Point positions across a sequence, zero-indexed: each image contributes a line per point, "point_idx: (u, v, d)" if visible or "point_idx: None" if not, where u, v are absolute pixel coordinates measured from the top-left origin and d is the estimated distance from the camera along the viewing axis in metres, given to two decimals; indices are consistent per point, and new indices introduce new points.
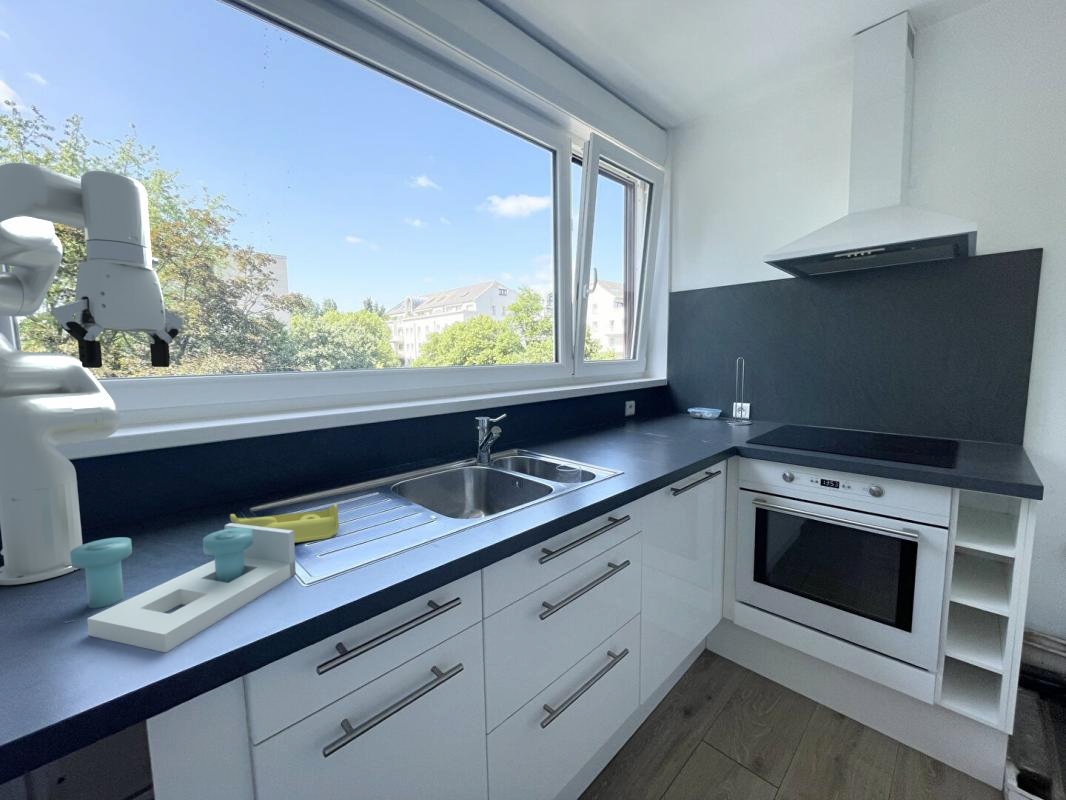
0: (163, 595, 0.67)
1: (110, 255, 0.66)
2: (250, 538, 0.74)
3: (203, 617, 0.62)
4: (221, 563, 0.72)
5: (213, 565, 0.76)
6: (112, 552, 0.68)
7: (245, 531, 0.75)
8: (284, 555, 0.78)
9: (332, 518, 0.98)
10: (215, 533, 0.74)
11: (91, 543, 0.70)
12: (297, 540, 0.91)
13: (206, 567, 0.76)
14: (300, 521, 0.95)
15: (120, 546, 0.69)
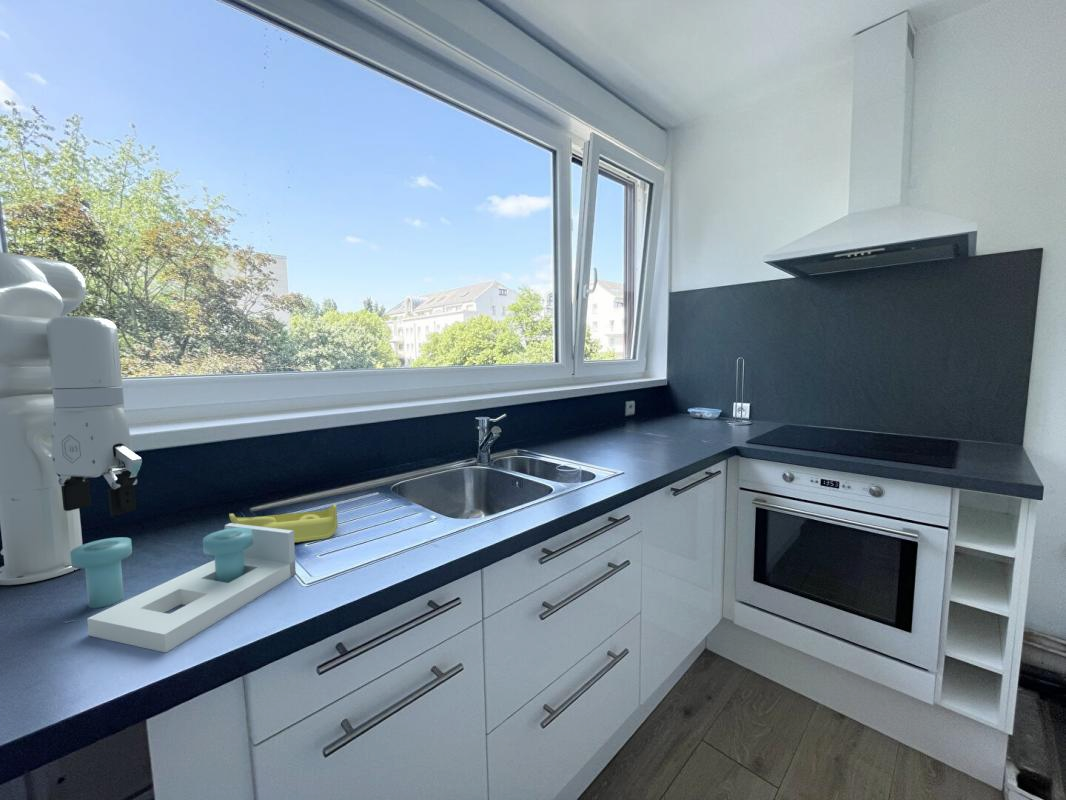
0: (163, 595, 0.67)
1: (122, 400, 0.68)
2: (250, 538, 0.74)
3: (203, 617, 0.62)
4: (221, 563, 0.72)
5: (213, 565, 0.76)
6: (112, 552, 0.68)
7: (245, 531, 0.75)
8: (284, 555, 0.78)
9: (331, 518, 0.98)
10: (215, 533, 0.74)
11: (91, 543, 0.70)
12: (295, 540, 0.91)
13: (206, 567, 0.76)
14: (298, 521, 0.95)
15: (120, 546, 0.69)
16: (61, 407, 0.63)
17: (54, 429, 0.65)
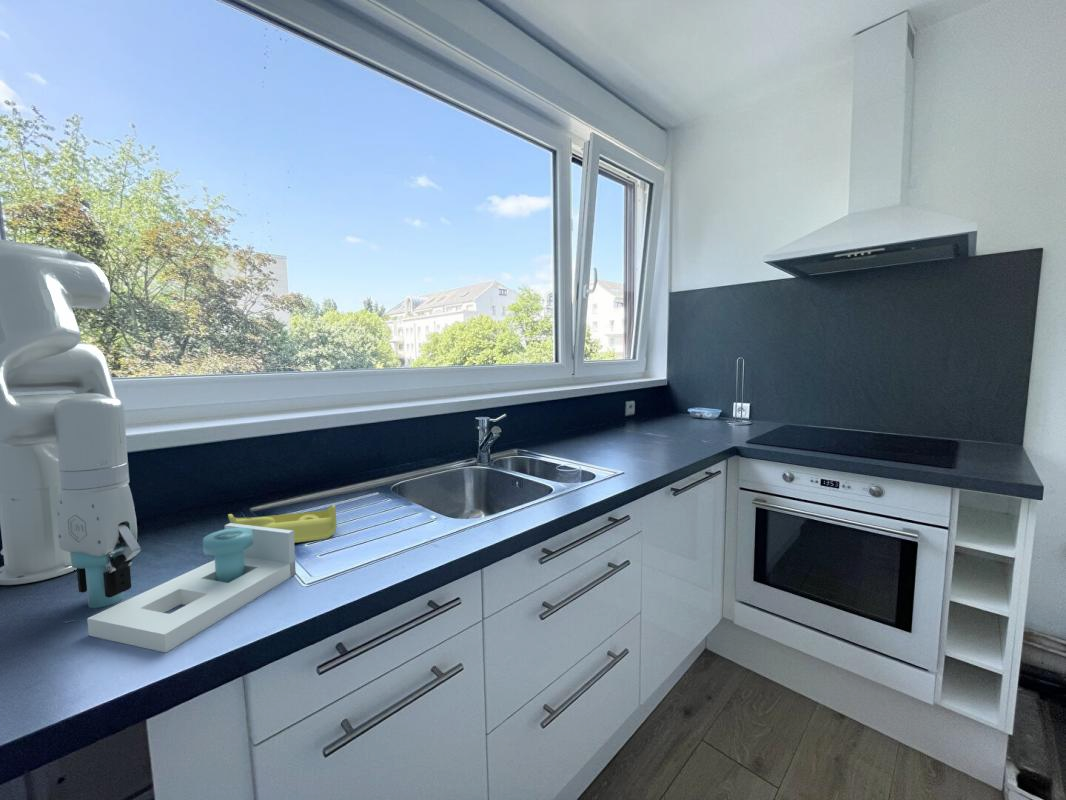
0: (163, 595, 0.67)
1: (127, 476, 0.70)
2: (250, 538, 0.74)
3: (203, 617, 0.62)
4: (221, 563, 0.72)
5: (213, 565, 0.76)
6: None
7: (245, 531, 0.75)
8: (284, 555, 0.78)
9: (330, 518, 0.98)
10: (215, 533, 0.74)
11: None
12: (294, 540, 0.91)
13: (206, 567, 0.76)
14: (297, 521, 0.94)
15: (120, 546, 0.69)
16: (68, 489, 0.64)
17: (61, 507, 0.67)
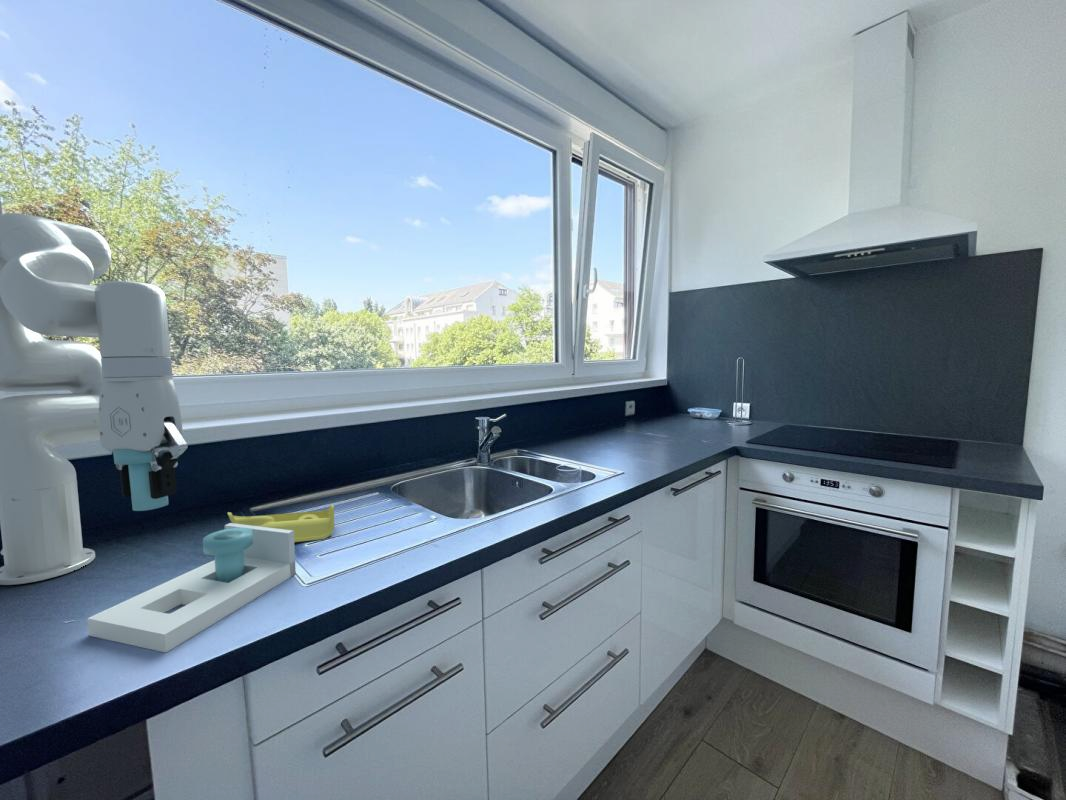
0: (163, 595, 0.67)
1: (171, 372, 0.65)
2: (250, 538, 0.74)
3: (203, 617, 0.62)
4: (221, 563, 0.72)
5: (213, 565, 0.76)
6: None
7: (245, 531, 0.75)
8: (284, 555, 0.78)
9: (328, 519, 0.97)
10: (215, 533, 0.74)
11: None
12: None
13: (206, 567, 0.76)
14: (296, 521, 0.95)
15: (165, 445, 0.64)
16: (111, 377, 0.60)
17: (102, 401, 0.62)
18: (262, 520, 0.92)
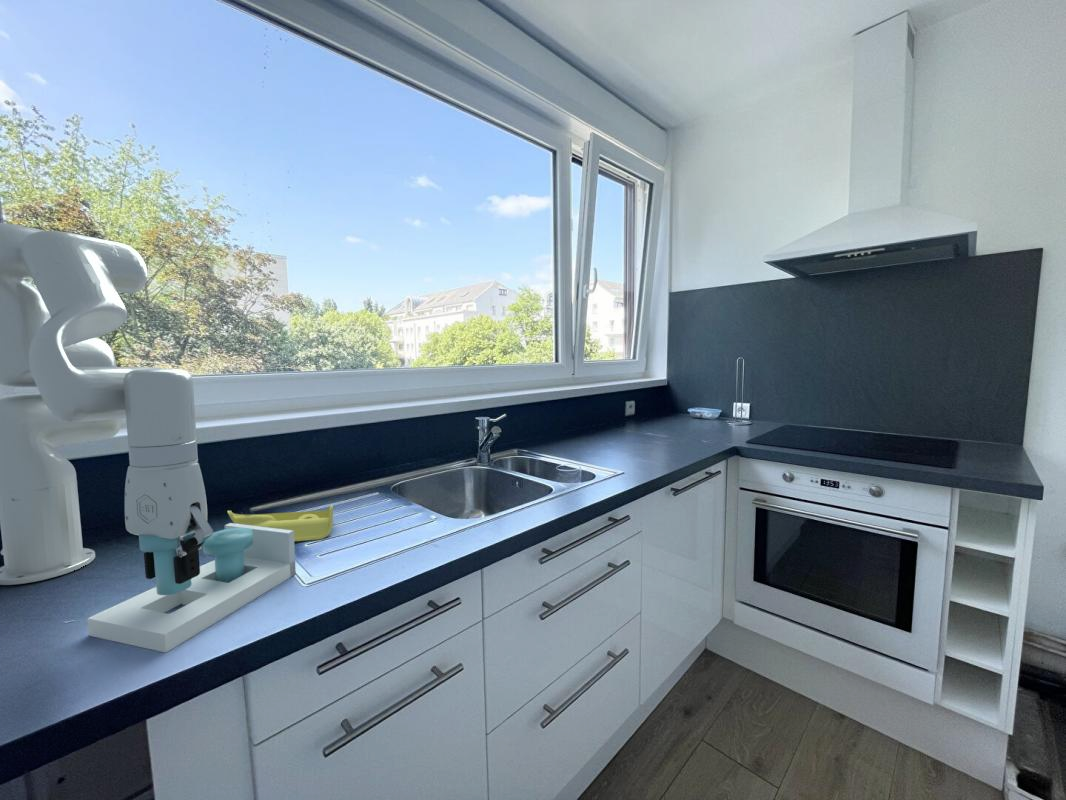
0: (163, 595, 0.67)
1: (196, 454, 0.65)
2: (250, 538, 0.74)
3: (203, 617, 0.62)
4: (221, 563, 0.72)
5: (213, 565, 0.76)
6: None
7: (245, 531, 0.75)
8: (284, 555, 0.78)
9: (327, 519, 0.97)
10: (215, 533, 0.74)
11: None
12: None
13: (206, 567, 0.76)
14: (295, 520, 0.95)
15: (190, 529, 0.64)
16: (139, 466, 0.60)
17: (129, 486, 0.62)
18: (261, 519, 0.92)
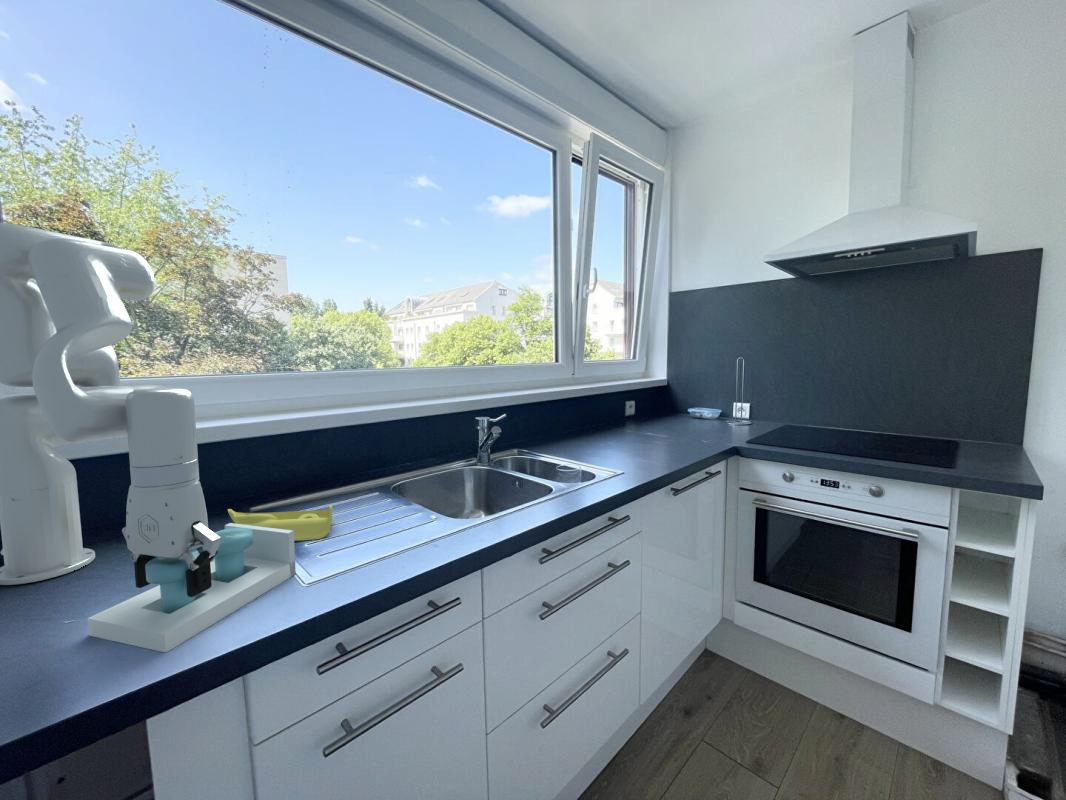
0: None
1: (198, 473, 0.65)
2: (250, 538, 0.74)
3: (203, 617, 0.62)
4: (221, 563, 0.72)
5: (213, 565, 0.76)
6: None
7: (245, 531, 0.75)
8: (284, 555, 0.78)
9: (326, 519, 0.97)
10: (215, 533, 0.74)
11: None
12: None
13: None
14: (294, 519, 0.95)
15: None
16: (140, 486, 0.60)
17: (130, 505, 0.62)
18: (261, 518, 0.93)
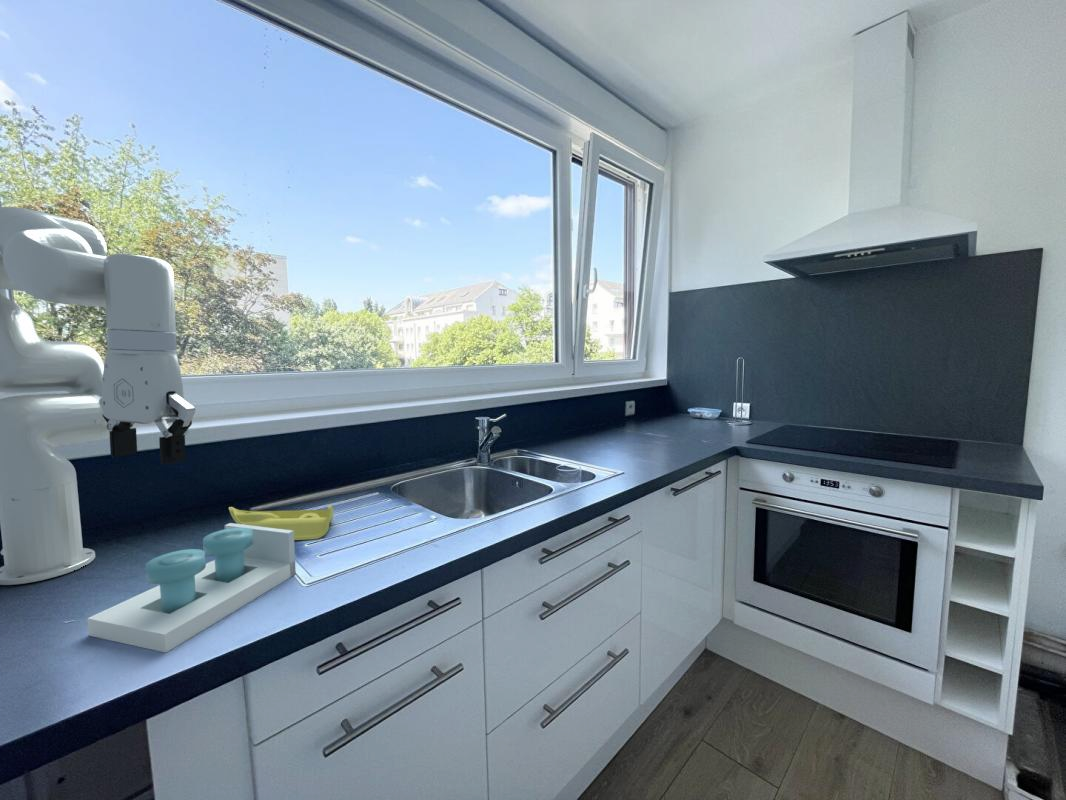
0: None
1: (175, 347, 0.66)
2: (250, 538, 0.74)
3: (203, 617, 0.62)
4: (221, 563, 0.72)
5: (213, 565, 0.76)
6: (189, 566, 0.63)
7: (245, 531, 0.75)
8: (284, 555, 0.78)
9: (325, 519, 0.97)
10: (215, 533, 0.74)
11: (164, 556, 0.65)
12: None
13: (206, 567, 0.76)
14: (293, 519, 0.96)
15: (196, 559, 0.64)
16: (116, 349, 0.61)
17: (106, 371, 0.63)
18: (261, 516, 0.94)
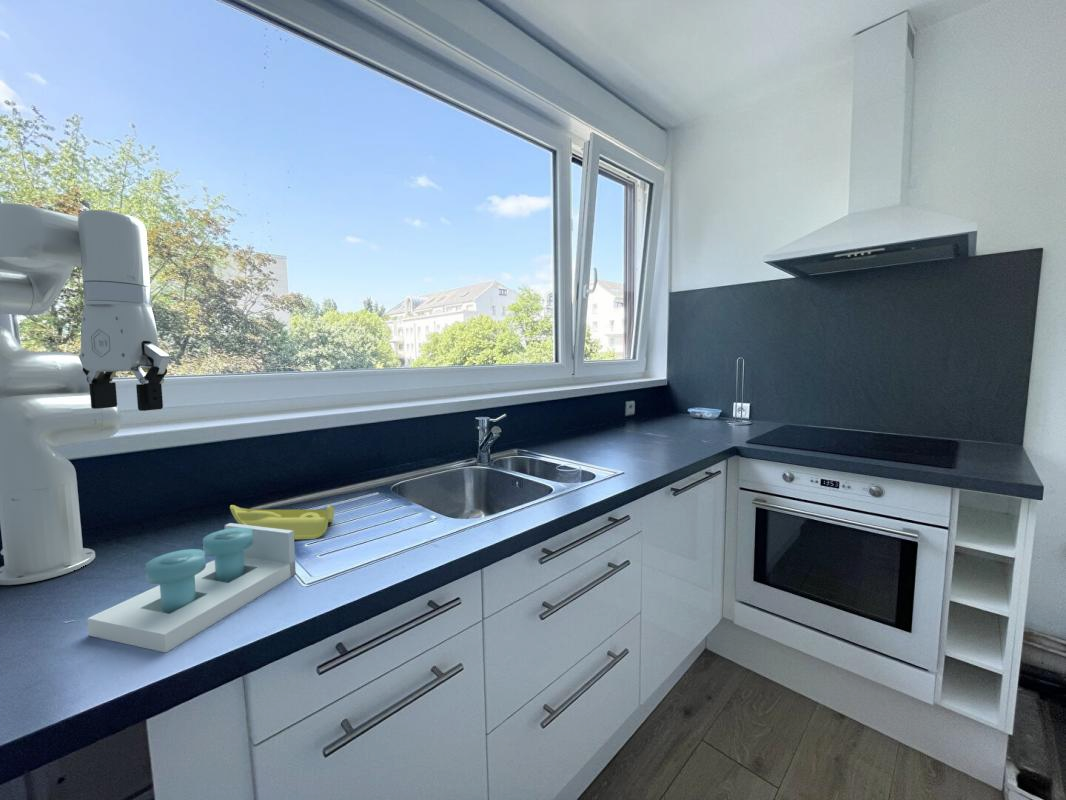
0: None
1: (150, 301, 0.69)
2: (250, 538, 0.74)
3: (203, 617, 0.62)
4: (221, 563, 0.72)
5: (213, 565, 0.76)
6: (189, 566, 0.63)
7: (245, 531, 0.75)
8: (284, 555, 0.78)
9: (324, 519, 0.97)
10: (215, 533, 0.74)
11: (164, 556, 0.65)
12: None
13: (206, 567, 0.76)
14: (292, 518, 0.96)
15: (196, 559, 0.64)
16: (92, 299, 0.64)
17: (84, 324, 0.66)
18: (261, 515, 0.95)
